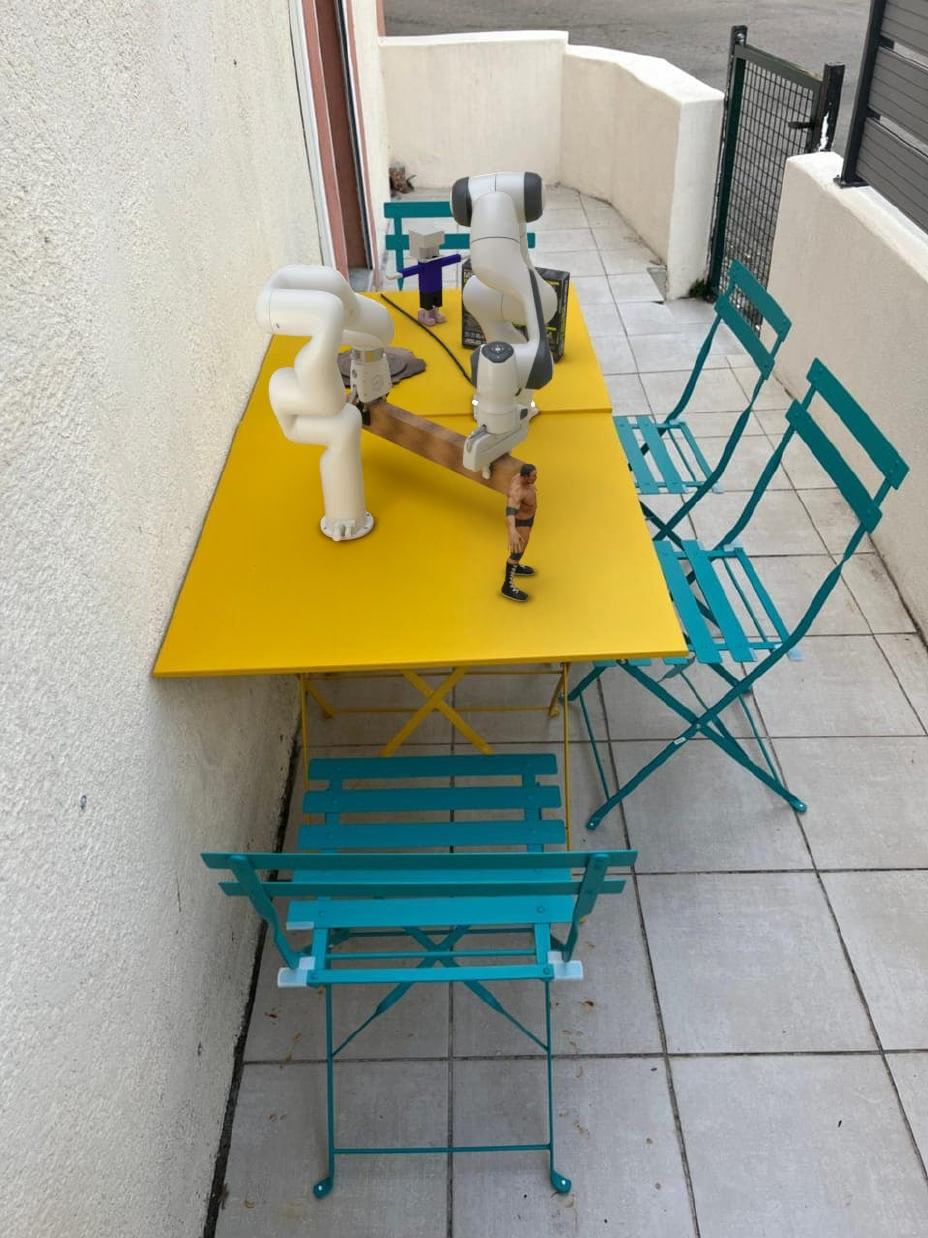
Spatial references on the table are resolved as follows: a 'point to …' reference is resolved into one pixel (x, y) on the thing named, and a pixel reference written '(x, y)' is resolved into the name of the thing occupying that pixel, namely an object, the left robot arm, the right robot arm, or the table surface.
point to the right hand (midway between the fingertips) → (495, 471)
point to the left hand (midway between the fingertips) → (373, 419)
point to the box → (554, 327)
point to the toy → (428, 270)
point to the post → (435, 443)
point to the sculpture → (398, 363)
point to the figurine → (519, 526)
